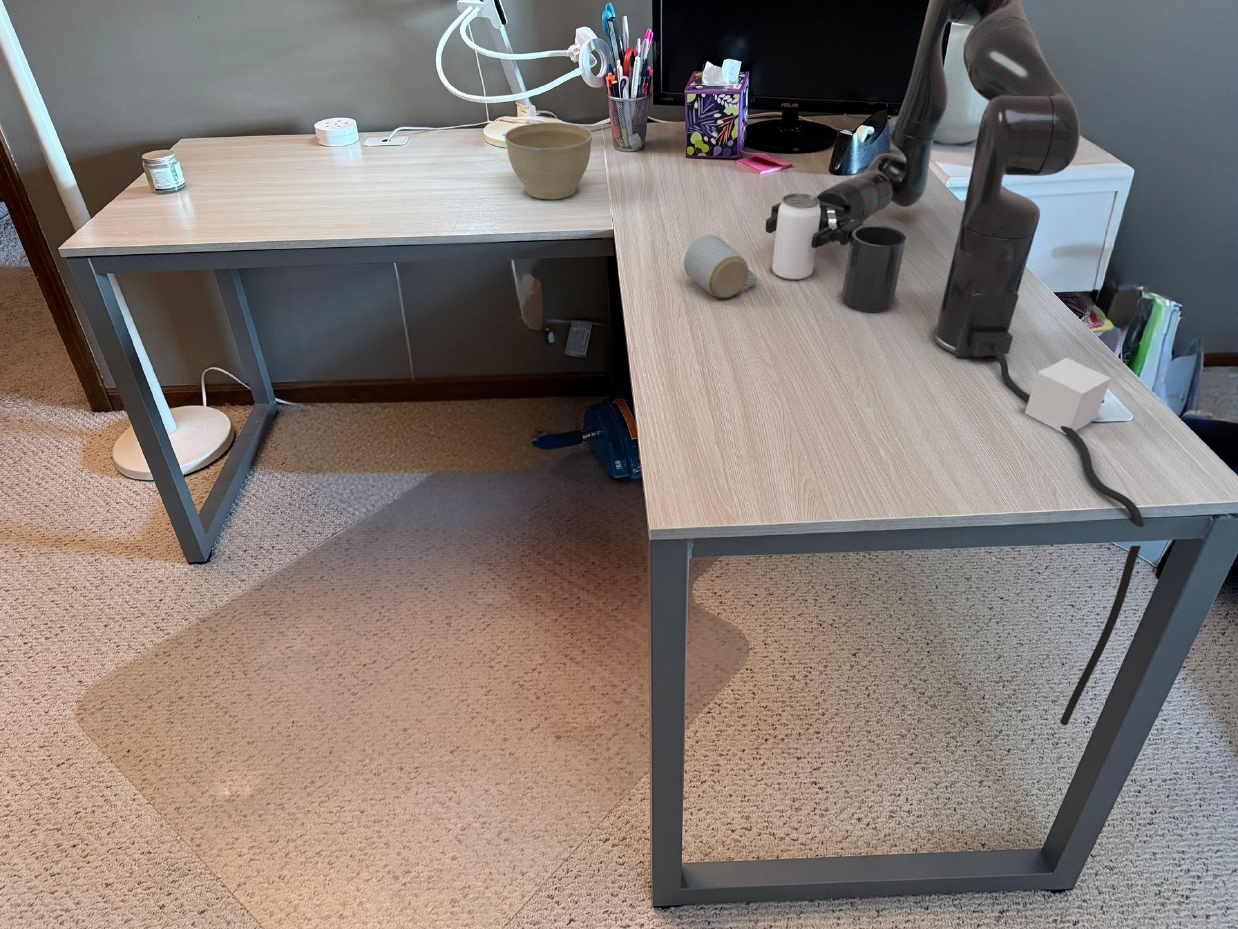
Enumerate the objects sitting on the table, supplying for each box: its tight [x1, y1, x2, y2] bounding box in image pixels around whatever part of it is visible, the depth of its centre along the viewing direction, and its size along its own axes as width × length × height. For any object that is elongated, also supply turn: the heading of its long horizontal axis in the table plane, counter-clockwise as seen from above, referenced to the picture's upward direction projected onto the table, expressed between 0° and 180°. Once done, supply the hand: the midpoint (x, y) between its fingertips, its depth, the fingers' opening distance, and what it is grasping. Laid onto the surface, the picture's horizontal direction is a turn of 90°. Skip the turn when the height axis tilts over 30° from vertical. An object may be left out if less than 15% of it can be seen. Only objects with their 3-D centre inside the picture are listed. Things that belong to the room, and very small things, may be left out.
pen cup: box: [841, 225, 907, 314], centre depth 135 cm, size 8×8×10 cm
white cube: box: [1024, 357, 1112, 436], centre depth 112 cm, size 6×6×6 cm
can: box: [771, 192, 821, 281], centre depth 143 cm, size 6×6×12 cm
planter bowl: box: [504, 121, 593, 200], centre depth 172 cm, size 16×16×11 cm
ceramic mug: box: [683, 234, 758, 299], centre depth 140 cm, size 11×8×8 cm
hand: (790, 234), depth 141 cm, fingers open, 8 cm apart
